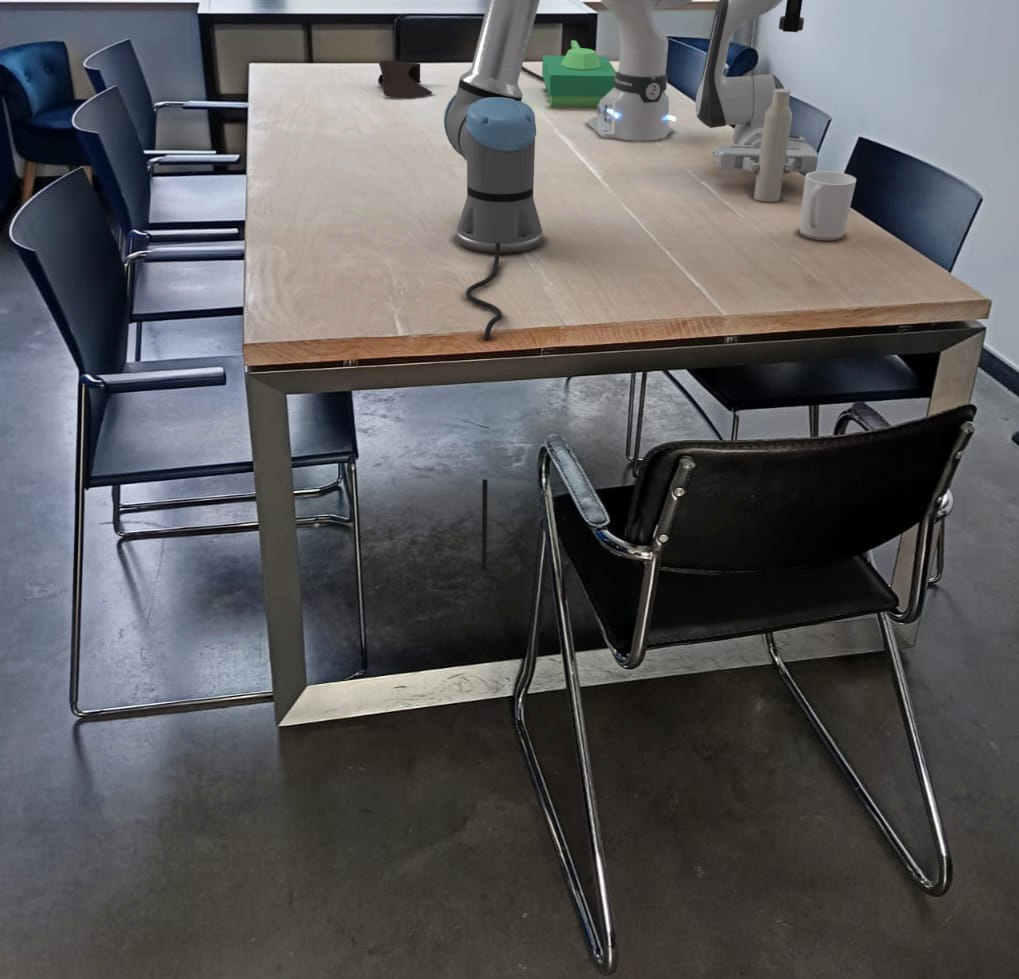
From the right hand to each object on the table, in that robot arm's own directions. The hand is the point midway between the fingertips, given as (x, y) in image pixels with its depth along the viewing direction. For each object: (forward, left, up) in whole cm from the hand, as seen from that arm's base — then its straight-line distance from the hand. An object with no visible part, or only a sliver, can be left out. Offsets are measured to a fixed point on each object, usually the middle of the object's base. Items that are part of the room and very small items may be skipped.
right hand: (772, 169), depth 217 cm
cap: (-1, 0, +27) cm, 28 cm away
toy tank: (-99, +5, -6) cm, 99 cm away
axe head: (-119, -38, -6) cm, 125 cm away
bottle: (-1, 0, -6) cm, 6 cm away
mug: (+22, -4, -6) cm, 24 cm away
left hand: (-1, 0, +26) cm, 26 cm away
